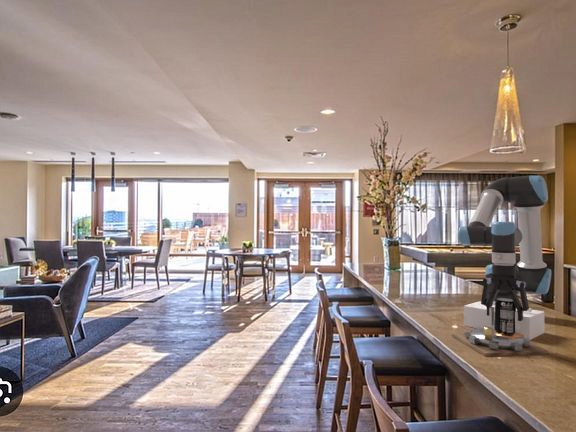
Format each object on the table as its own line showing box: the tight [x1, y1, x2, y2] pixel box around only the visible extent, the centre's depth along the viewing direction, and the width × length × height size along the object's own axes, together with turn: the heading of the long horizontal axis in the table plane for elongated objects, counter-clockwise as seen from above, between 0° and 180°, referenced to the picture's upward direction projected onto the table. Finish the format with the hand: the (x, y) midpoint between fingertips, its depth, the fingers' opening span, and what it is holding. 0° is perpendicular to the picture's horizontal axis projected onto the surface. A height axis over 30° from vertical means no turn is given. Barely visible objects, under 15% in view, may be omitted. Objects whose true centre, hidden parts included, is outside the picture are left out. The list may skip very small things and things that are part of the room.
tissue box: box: [463, 301, 546, 341], centre depth 155 cm, size 14×25×11 cm, turn 38°
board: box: [451, 333, 549, 357], centre depth 135 cm, size 22×21×1 cm
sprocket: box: [464, 327, 531, 351], centre depth 135 cm, size 20×20×6 cm
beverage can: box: [494, 298, 516, 335], centre depth 137 cm, size 7×7×12 cm
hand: (504, 327), depth 137 cm, fingers open, 8 cm apart
